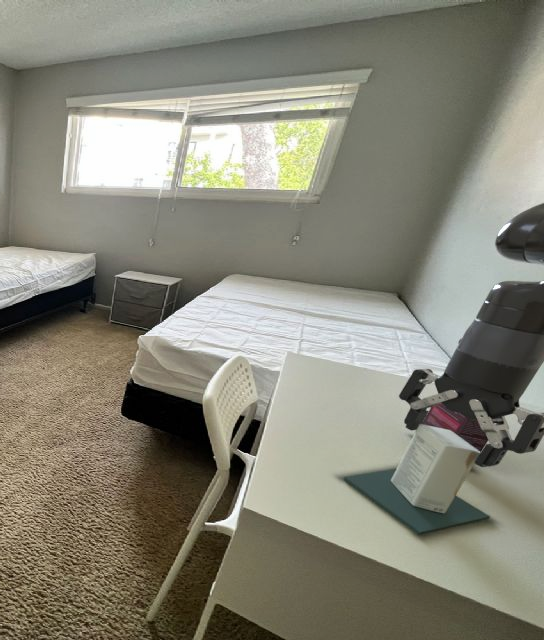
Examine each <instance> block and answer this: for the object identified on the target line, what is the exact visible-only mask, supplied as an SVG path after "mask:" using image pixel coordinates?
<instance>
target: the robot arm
mask: <svg viewBox="0 0 544 640" xmlns="http://www.w3.org/2000/svg"><path fill="white" fill-rule="evenodd" d="M494 245H495V249H496V252H497V253H498V254H499V255H500V256H501V257H503V258H504V259H507V260H510V261H513V262H518V263H526V264H533V265H539V266H541V265H542V266H544V202H543V203H540V204H537V205H535V206H531V207H530V208H528V209H526V210H524V211H522V212H520V213H519V214H516V216H514V217H512V218H511V219H509V221H507V222H506V223H505V224H504V225H503V226H502V227H501V229H499V231H498V233H497V235H496V237H495V242H494ZM543 364H544V279H543V280H539V281H538V280H537V281H536V280H504V281H500V282H497V283H496V284H495V285H494V286H492V288H490V291H489V292H488V294H487V296H486V298H485V299H484V301H483V303H482V305H481V307H480V309H479V311H478V313H477V314H476V316H475V318H474V320H473V321H472V322H471V323H470V325H469V326H468V327H467V328H466V330H465V332H464V333H463V335H462V337H460V339H459V340H458V344H457V346H456V348H455V350H454V352H453V354H452V356H451V357H450V360H449V361H448V363H447V365H446V367H445V369H444V371H443V374H441V375H439V374H437V373H434V372H433V370H432V369H430V368H419V369H414V370H413V371H412V373H411V375H409V378H408V380H406V383H405V384H404V386H403V387H402V389H401V391H400V393H399V394H398V398H399V400H401V401H405V402H406V403H407V404H408V405H409V407H410V408H409V410H408V412H407V414H406V416H405V417H404V420H403V421H404V422H403V423H404V424H405V429H407V430H409V431H411V432H412V431H416V430H417V428H418V426H419V424H422V423H423V421H424V419H425V417H426V415H427V414H428V412H429V410H427V409H430V408H431V407H433V406H437V405H441V404H443V405H444V406H445V407H446V409H448V410H450V411H453V412H457V413H460V414H461V415H463V416H464V417H466V418H468V419H470V420H478V422H479V425H480V427H481V429H482V430H483V431H484V432H485V433H486V435H487V438H488V443H486V445H485V446H484V448H483V449H482V451H481V454H480V455H479V457H478V458H477V460H476V461H475V463H474V465H476V466H478V467H480V468H487V467H488V468H489V467H494V466H495V467H496V466H497V465H499V464H500V463H501V461H502V460H503V458H504V457H505V456H506V454H507V453H508V452H509V451H510V452H513V453H515V454H520V455H522V454H527V453H528V454H529V453H532V452H535V451H536V450H537V448H538V447H539V444H540V443H541V441H542V440H543V438H544V412H536V411H534V410H530V409H529V408H528V409H527V408H524V407H522V406H520V399H521V398H522V396H523V395H524V393H525V392H526V391H527V389H528V387H529V385H530V384H531V382H532V381H533V379H534V378H535V376H536V374H537V373H538V372H539V370H540V369H541V367H542V365H543ZM432 383H434V386H435V389H436V391H437V394H433V395H430V396H427V397H423V398H422V399H421V397H419V396H420V395H421V393H422V392H423V390H424V389H425V388H426V386H427V385H431V384H432ZM509 415H515V416H516V417H517V423H518V424H519V425H521V427H520V428H519V430H518V432H517V434H516V435H515V438H514V440H513V438H512V435H511V433H510V426H509V424H508V421H507V419H506V417H507V416H509ZM505 416H506V417H505Z"/></svg>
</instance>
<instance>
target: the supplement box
mask: <svg viewBox="0 0 544 640" xmlns="http://www.w3.org/2000/svg"><path fill="white" fill-rule="evenodd" d="M428 411H429V412H428V413H427V415H426V417H425V419H424V421H423V423H422V424H423V425H428V426H432V427H437V428H442V429H447V430H451V431H452V432H454V433H455V434H456V435H458V436H459V437H461V438H462V439H463V440H465V441H466V442H467V443H469V444H470V445H472V446H473V447H474V448H476V449H477V450H478V451H479V452H482V450H483V449H484V447H485V446H486V444H488V443H489V440H488V438H487V435H486V433H485V432H484V431H483V430H482V429H481V427H480V425H479V422H478V420H470V419H468V418H466V417H464V416H463V415H461V414H460V413H457V412H453V411H450V410H448V409H446V407H445V406H444V405H443V404H441V405H437V406H433V407H430V408H429V410H428Z"/></svg>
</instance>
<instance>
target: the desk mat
mask: <svg viewBox="0 0 544 640" xmlns="http://www.w3.org/2000/svg"><path fill="white" fill-rule="evenodd" d="M396 469H397V467H396V468H391V469H385V470H379V471H378V470H377V471H371V472H366V473H365V472H364V473H360V474H359V473H358V474H353V475H347V476H344V477H343V481H345V482H346V483H348V484H349V485H350V486H352V487H353V488H354V489H355V490H357V491H359V492H360V493H361V494H362V495H364V496H365V497H366V498H368V499H369V500H370V501H372V502H373V503H374V504H376V505H377V506H379V507H380V508H382V510H384V511H385V512H387V513H388V514H389V515H391V516H392V517H394V518H395V519H396V520H397V521H399V522H400V523H402V524H403V525H405V527H407V528H408V529H410V530H411V531H412V532H413V533H415V534H417V535H418V536H421V535H425V534H430V533H433V532H439V531H443V530H447V529H451V528H456V527H460V526H464V525H468V524H473V523H478V522H481V521H486V520H489V519H490V518H491V516H490V515H489V514H488V513H486V512H484V511H482V510H480V509H479V508H477V507H476V506H474V505H472V504H471V503H470V502H469V503H468V501H466V500H465V499H462V498H460V497H459V496H458V495H457V494H456V495H455V497H454V499H453V501H452V502H451V504H450V506H449V507H448V509H447V511H446V512H445V514H443V513H439V512H435V511H431V510H427V509H423V508H420V507H416V506H413V505H412V504H411V503H410V502H409V501H408V500H407V499H406V498H405V496H404V495H403V494H402V493H401V492H400V491H399V490H398V489H397V487H396V486H395V485H394V484H393V483H392V482H391V479H392V477H393V475H394V473H395V471H396Z"/></svg>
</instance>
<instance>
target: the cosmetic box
mask: <svg viewBox="0 0 544 640" xmlns="http://www.w3.org/2000/svg"><path fill="white" fill-rule="evenodd" d="M481 452H482V451H481ZM481 452H479V451H478V450H477V449H476V448H474V447H473V446H472V445H470V444H469V443H467V442H466V441H465V440H463V439H462V438H461V437H459V436H458V435H456V434H455V433H454V432H452V431H451V430H447V429H442V428H437V427H432V426H428V425H423V424H419V426H418V428H417V430H415V432H414V434H413V436H412V438H411V439H410V442H409V443H408V445H407V448H406V449H405V451H404V453H403V455H402V457H401V459H400V461H399V463H398V465H397V467H396V468H397V469H396V468H395V469H396V471H395V473H394V475H393V477H392V479H391V482H392V483H393V484H394V485H395V486H396V487H397V489H398V490H399V491H400V492H401V493H402V494H403V495H404V496H405V498H406V499H407V500H408V501H409V502H410V503H411V504H412V505H413V506H416V507H420V508H423V509H427V510H431V511H435V512H439V513H443V514H445V512H446V511H447V509H448V507H449V506H450V504H451V502H452V501H453V499H454V497H455V495H456V496H457V494H458V492H459V490H460V489H461V487H462V485H463V484H464V482H465V480H466V478H467V477H468V476H469V474H470V472H471V470H472V468H473V467H474V465H475V461H476V460H477V458H478V457H479V455H480V454H481Z"/></svg>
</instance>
